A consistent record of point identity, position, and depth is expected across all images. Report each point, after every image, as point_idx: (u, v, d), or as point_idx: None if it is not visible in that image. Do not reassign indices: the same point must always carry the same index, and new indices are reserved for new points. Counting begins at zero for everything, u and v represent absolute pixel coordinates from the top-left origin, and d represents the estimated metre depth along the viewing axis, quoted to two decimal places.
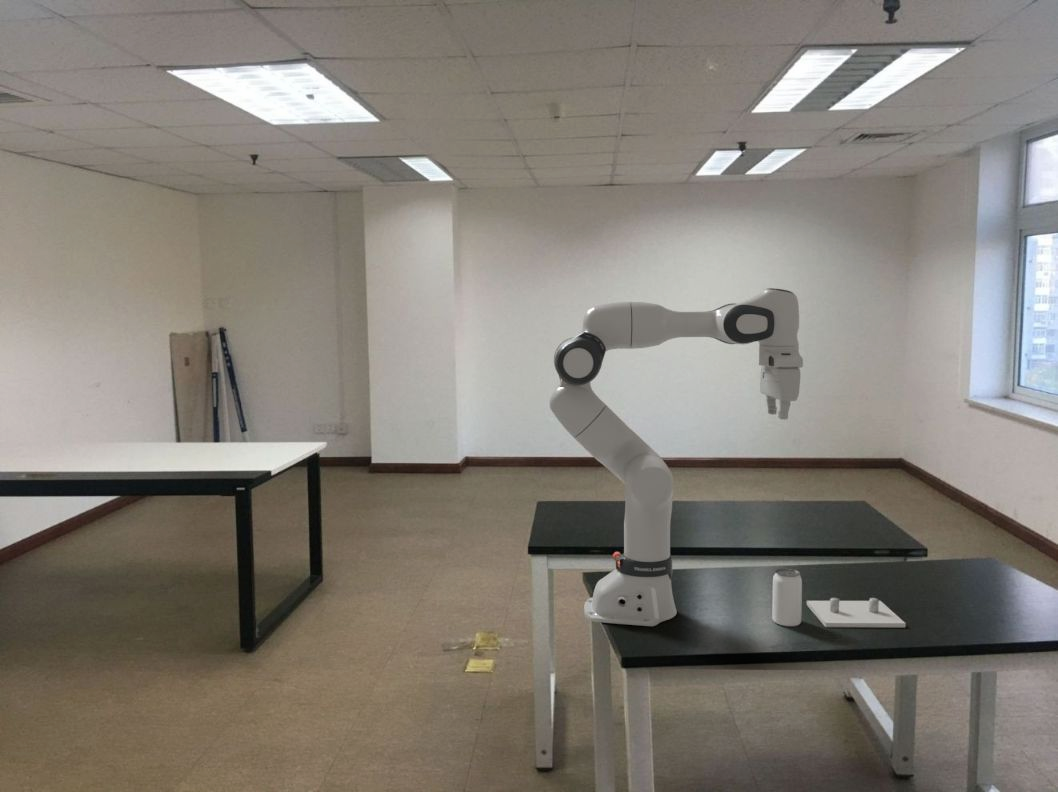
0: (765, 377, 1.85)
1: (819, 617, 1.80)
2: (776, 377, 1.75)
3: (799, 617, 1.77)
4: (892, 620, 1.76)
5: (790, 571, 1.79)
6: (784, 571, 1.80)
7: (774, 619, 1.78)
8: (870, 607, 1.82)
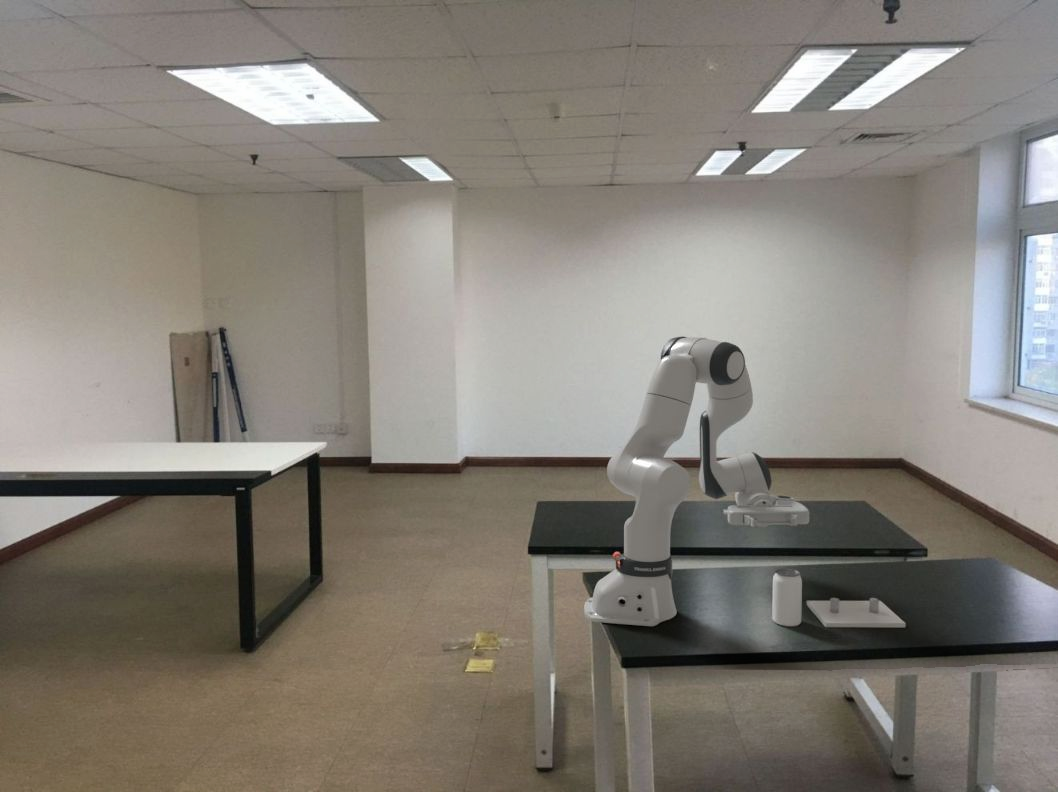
0: None
1: (819, 617, 1.80)
2: (782, 507, 1.98)
3: (799, 617, 1.77)
4: (892, 620, 1.76)
5: (790, 571, 1.79)
6: (784, 571, 1.80)
7: (774, 619, 1.78)
8: (870, 607, 1.82)
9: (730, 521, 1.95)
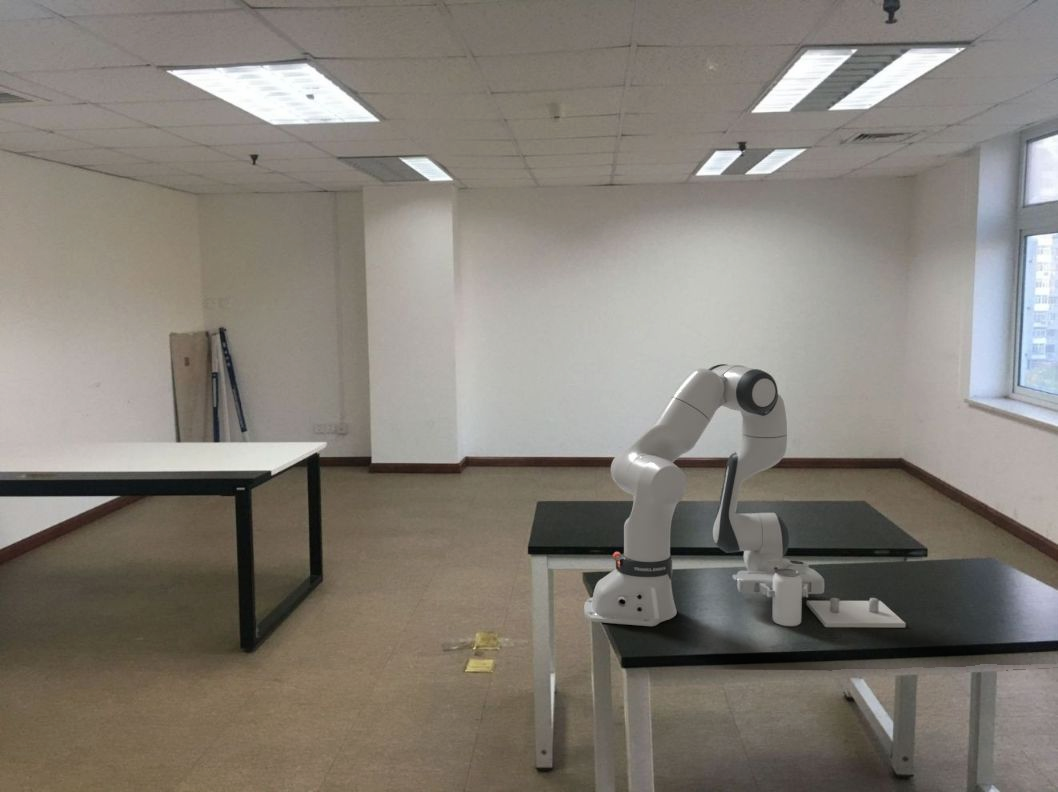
0: (755, 575, 1.86)
1: (819, 617, 1.80)
2: None
3: (799, 617, 1.77)
4: (892, 620, 1.76)
5: (790, 571, 1.79)
6: (784, 571, 1.80)
7: (774, 619, 1.78)
8: (870, 607, 1.82)
9: (740, 589, 1.83)
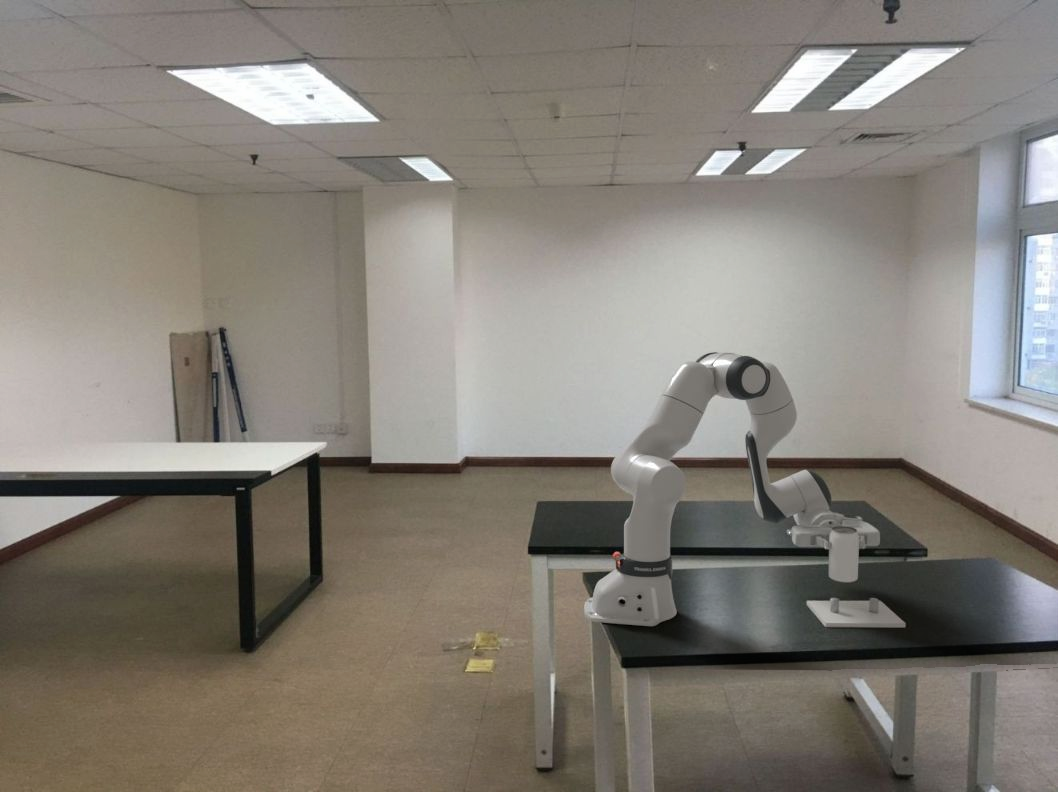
0: (810, 529, 1.88)
1: (819, 617, 1.80)
2: None
3: (856, 573, 1.78)
4: (892, 620, 1.76)
5: (847, 528, 1.81)
6: (841, 528, 1.82)
7: (830, 575, 1.81)
8: (870, 607, 1.82)
9: (796, 543, 1.85)
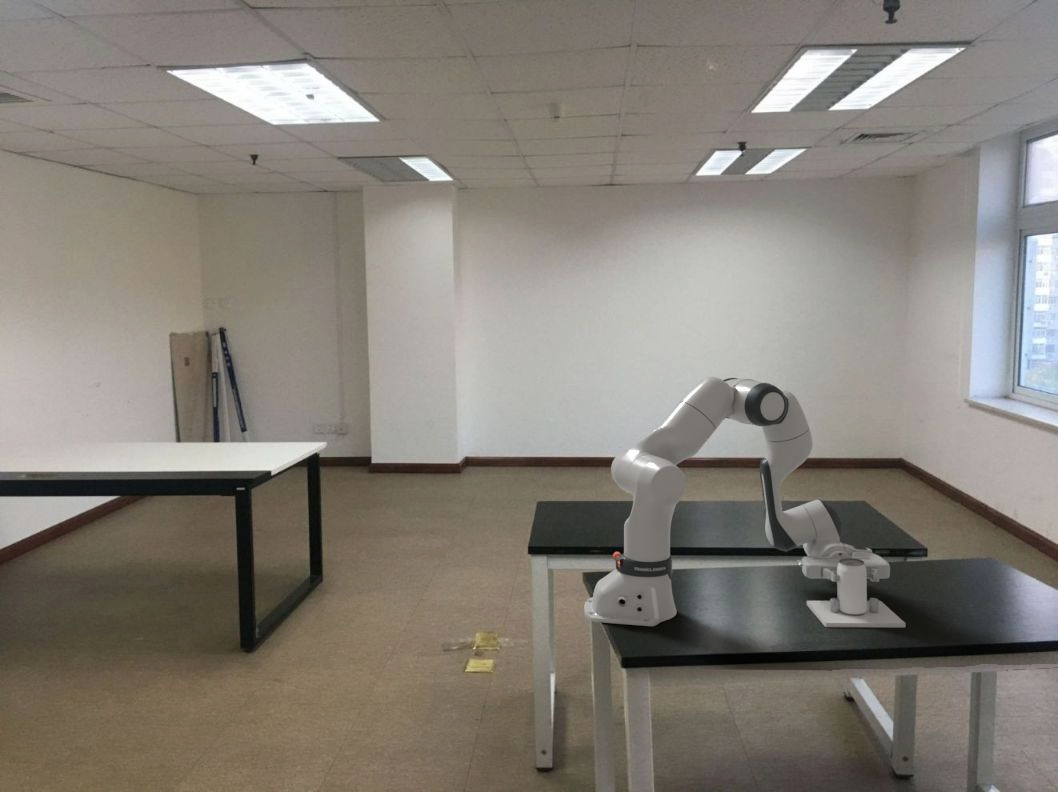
0: (820, 560, 1.89)
1: (819, 617, 1.80)
2: None
3: (864, 605, 1.80)
4: (892, 620, 1.76)
5: (854, 560, 1.82)
6: (848, 560, 1.83)
7: (839, 608, 1.82)
8: (870, 607, 1.82)
9: (807, 574, 1.86)
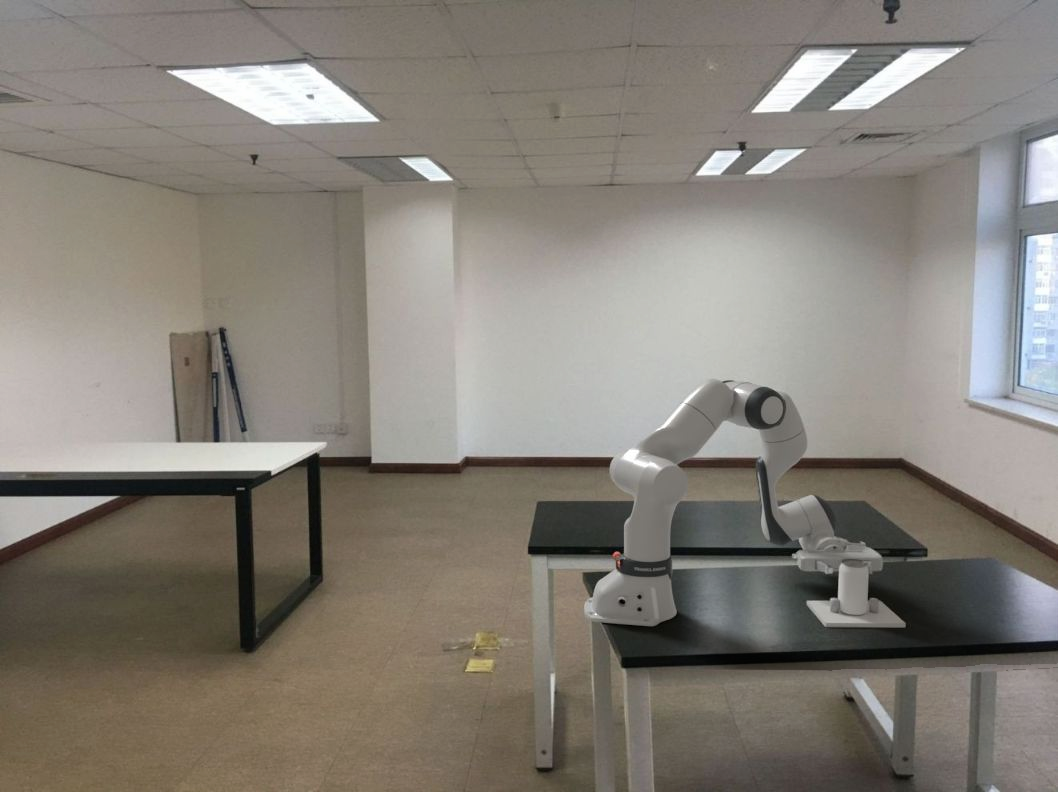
0: None
1: (819, 617, 1.80)
2: (853, 552, 1.94)
3: (865, 606, 1.80)
4: (892, 620, 1.76)
5: (856, 561, 1.82)
6: (850, 561, 1.82)
7: (840, 608, 1.82)
8: (870, 607, 1.82)
9: (802, 567, 1.91)
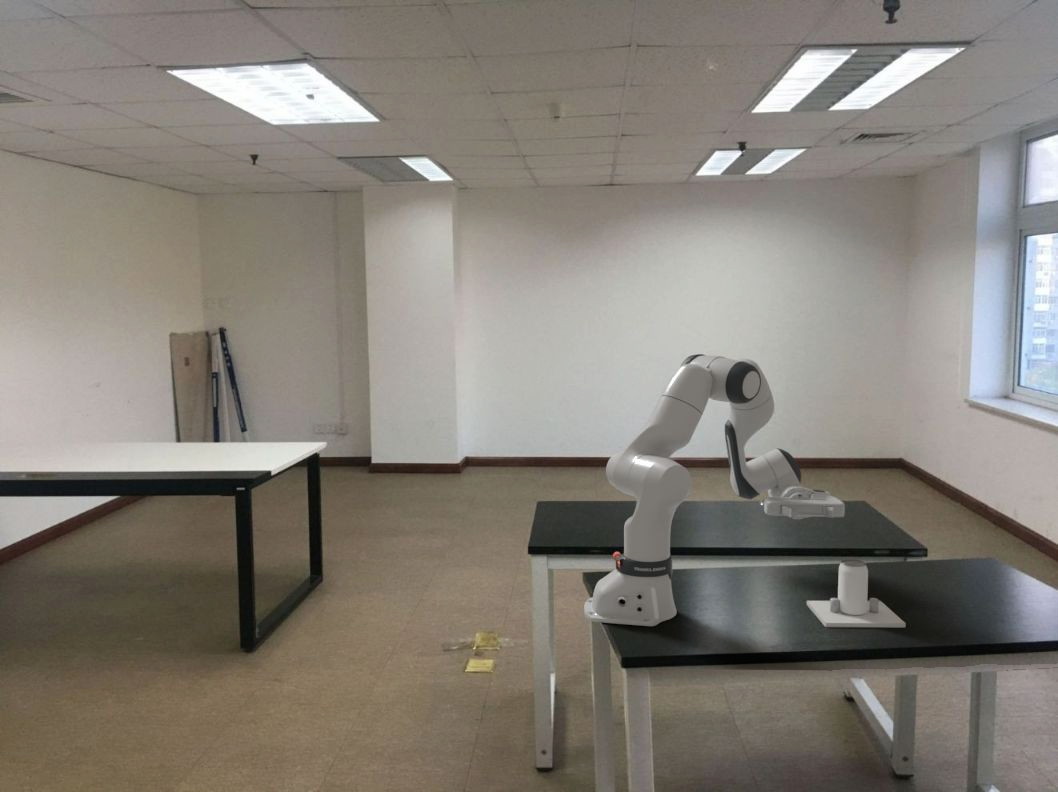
0: (780, 500, 2.03)
1: (819, 617, 1.80)
2: (817, 500, 2.03)
3: (865, 606, 1.80)
4: (892, 620, 1.76)
5: (856, 561, 1.83)
6: (850, 561, 1.83)
7: (840, 608, 1.82)
8: (870, 607, 1.82)
9: (767, 511, 2.00)
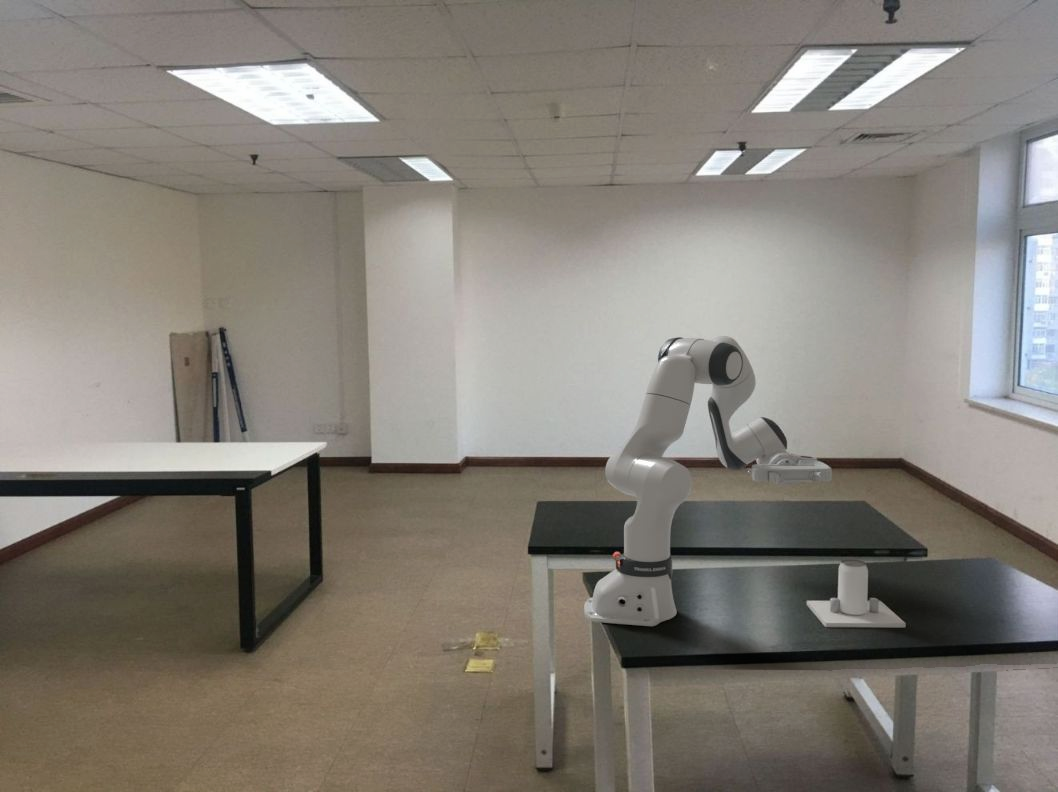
0: (768, 466, 2.04)
1: (819, 617, 1.80)
2: (804, 466, 2.04)
3: (865, 606, 1.80)
4: (892, 620, 1.76)
5: (856, 561, 1.83)
6: (850, 561, 1.83)
7: (840, 608, 1.82)
8: (870, 607, 1.82)
9: (755, 478, 2.00)
